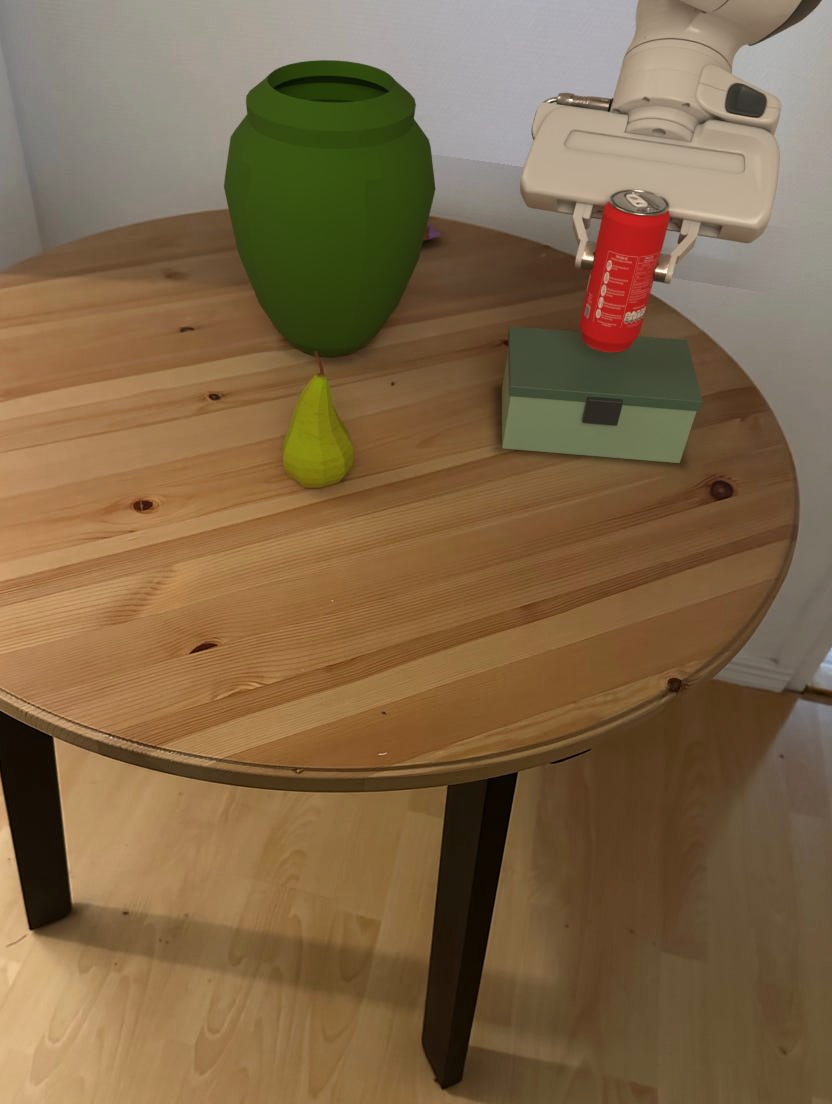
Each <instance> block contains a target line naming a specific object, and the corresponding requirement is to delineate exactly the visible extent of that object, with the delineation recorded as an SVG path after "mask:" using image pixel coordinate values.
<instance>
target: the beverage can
mask: <svg viewBox="0 0 832 1104" xmlns="http://www.w3.org/2000/svg"><path fill="white" fill-rule="evenodd" d="M669 207H670V204H669V202H668V201H667V200H666V199H665V198H664V197H662V196H660V195H658V194H655V193H652V192H648V191H643V190H622V191H618V192H615V193H613V194H612V195H611V196H610V197H609V202H608V203H607V204H606V205H605V207H604V210H603V215H602V220H601V219H600V225H599V230H598V234H597V239H596V242H595V243H596V249H595V254H594V261H593V266H592V269H591V270H589V276H588V280H587V286H586V290H585V295H584V300H583V303H582V304H583V305H582V308H581V314H580V318H579V331H580V332H581V333H582V341H583V342H584V343H585V344H586V345H587V346H588V347H590V348H592V349H594V350H597V351H600V352H606V353H619V352H623V351H626V350H628V349H629V348H630V347H631V345H632V343H633V342H634V341H635V340H636V338H637V337H638V336H640V333H641V330H642V326H643V325H642V324H643V322H644V319H645V316H646V310H647V307H648V303H649V299H650V296H651V292H652V288H653V285H654V281H653V279H654V278H653V276H654V272H655V268H656V266H657V265H658V260H659V257H660V254H662V250H663V247H664V244H665V243H664V242H665V238H666V234H667V231H668V230H667V227H668V224H669V220H670V214H669Z"/></svg>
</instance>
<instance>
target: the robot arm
mask: <svg viewBox="0 0 832 1104" xmlns="http://www.w3.org/2000/svg"><path fill="white" fill-rule="evenodd" d="M822 1H823V0H638V1H637V5H636V8H635V18H634V19H635V31H634V36H633V38H632V40H631V43H630V44H629V46H628V47H627V50H626V51H625V53H624V56H623V59H622V62H621V67H620V70H619V74H618V79H617V81H616V86H615V89H614V93H613V97H612V98H609V97H600V96H592V95H590V96H585V95H575V94H574V93H572V92H559V93H558V94H557V96H553V97H550V98H547V99H545V100H543V102H542V103H540V104H539V106H538V107H537V108H536V110H535V113H534V118H533V122H532V126H531V137H532V140H533V141H532V144H531V145H530V148H529V151H528V154H527V156H526V159H525V162H524V165H523V169H522V171H521V175H520V179H519V182H520V183H519V190H520V191H519V192H520V195H521V198H522V200H523V202H524V204H525V205H526V207H527V208H530V209H534V210H541V211H547V212H553V213H560V214H566V215H572V231H573V234H574V237H575V241H576V244H577V247H578V248H577V251H576V256H575V261H574V268H575V269H581V270H587V271H591V269H592V266H593V261H594V254H595V249H596V243H597V242H595V241H589V238H588V234H587V231H586V230H589V229H590V227H591V222H592V219H596V220H600V221H601V220H602V215H603V210H604V207H605V205H606V204H607V203H608V202H609V197H610V196H611V195H612V194H613V193H615V192H618V191H622V190H643V191H648V192H652V193H655V194H658V195H660V196H662V197H664V198H665V199H666V200H667V201H668V202H669V204H670V207H669V214H670V220H669V224H668V227H667V231H670V232H675V233H679V235H678V237H677V238H678V239H677V242H676V244H677V246H676V247H674V249H673V250H672V251H671V252H670V254H665V253H661V254H660V257H659V260H658V265H657V266H656V268H655V272H654V276H653V278H654V279H653V282H656V283H663V284H665V285H671V281H672V278H673V274H674V271H675V268H676V266H677V265H678V264H679V263H680V262H681V261H682V260H683V259H684V258H685V257H686V256H687V255H688V254H689V253H690V252H691V251H692V250H693V249H694V247H695V245H696V242H697V238H698V236H700V237H706V238H711V239H719V240H723V241H731V242H734V243H735V242H736V243H741V244H753V242H755V241H756V240H757V239H759V238H760V237H761V236H762V235H763V234H764V233H765V231H766V229H767V227H768V225H769V222H770V219H771V216H772V212H773V209H774V205H775V204H774V203H775V199H776V194H777V188H778V180H779V173H780V162H781V161H780V160H781V153H780V151H781V150H780V146H779V143H778V141H777V138H776V137H775V134H776V131H777V128H778V125H779V121H780V116H781V111H782V102H781V100H780V99H779V97H777V96H775V95H774V94H772V93H770V92H767V91H766V90H763V89H761V88H760V87H757V86H755V85H754V84H751V83H750V82H747V81H745V80H743V79H742V78H740V77H738V76H736V75H734V74H733V63H734V60H735V56H736V55H737V53H738V52H739V50H740V49H741V48H742V47H744V46H749V47H753V46H755V45H758V44H760V43H762V42H764V41H766V40H768V39H770V38H772V37H774V36H776V35H778V34H779V33H782V32H784V31H786V30H788V29H789V28H791V27H793V26H795V25H797V24H798V23H800V22H801V21H803V20H804V19H806V18H807V17H808V16H809V15H810V14H812V13H813V12H814V11H815V10H816V8H818V6H819V5H820V4H821V3H822Z"/></svg>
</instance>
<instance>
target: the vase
mask: <svg viewBox="0 0 832 1104" xmlns="http://www.w3.org/2000/svg"><path fill="white" fill-rule="evenodd" d="M245 105H246V106H245V107H246V115H244V117H243V118H242V120H241V121H240V122H239V124H238V125H237V127H236V128H235V129H234V131H233V132H232V134H231V135H230V138H229V146H228V153H227V154H228V155H227V160H226V165H225V166H226V167H225V174H224V180H223V181H224V182H223V189H224V194H225V199H226V203H227V207H228V213H229V217H230V222H231V227H232V231H233V236H234V240H235V246H236V250H237V253H238V255H239V257H240V261H241V263H242V266H243V268H244V270H245V274H246V275H247V277H248V278H247V279H248V280H249V282H250V285H251V287H252V290H253V293H254V294H255V296H256V299H257V302H258V304H259V306H260V307H261V308H262V310H263V312H264V313H265V315H266V316H267V318H268V319H269V321H270V322H271V324H272V325H273V327H274V328H275V329H276V330H277V332H278V333H279V334H280V335H281V336H282V337H283V338H284V339H285V340H286V341H287V342H288V343H289V344H290V345H291V346H293V348H295V349H297V350H298V351H301V352H303V353H306V354H308V355H313V356H315V354H314V352H315V351H317V354H318V356H319V357H341V356H345V355H349V354H353V353H355V352H358V351H359V350H361V349H363V348H364V347H365V346H366V345H367V344H369V343H370V341H372V340H373V339H374V338H375V337H376V336H377V335H378V334H379V333H380V331H381V330H382V329H383V327H384V326H385V324H386V323H387V322H388V320H389V319H390V318H391V316H392V315H393V314H394V312H395V310H396V309H397V308H398V306H399V305H400V302H401V300H402V297H403V296H404V294H405V292H406V289H407V287H408V284H409V282H410V279H411V277H412V276H413V273H414V271H415V269H416V267H417V264H418V262H419V260H420V256H421V252H422V248H423V243H424V241H425V240H424V235H425V231H426V227H427V223H429V218H430V214H431V209H432V206H433V201H434V198H435V193H436V182H435V174H434V164H433V156H432V147H431V143H430V139H429V138H428V136H427V135H426V134H425V132H424V131H423V129H422V128H421V126H420V125H419V124H418V122H417V121H416V118H415V113H416V107H417V103H416V98H415V97H414V96H413V95H412V93H410V92H409V91H408V90H407V89H406V88H405V87H404V86H402V84H400V83H399V81H397V80H396V79H395V78H394V77H393V76H392V75H391V74H389V73H388V72H386V71H385V70H383V69H381V68H378V67H375V66H372V65H369V64H364V63H360V62H353V61H347V60H335V59H334V60H333V59H332V60H331V59H329V60H328V59H327V60H326V59H321V60H320V59H319V60H317V59H316V60H307V61H305V60H304V61H298V62H294V63H289V64H286V65H283V66H280V67H277V68H276V69H274V70H273V71H271V72H270V73H269V74H268V75H267V76H266V77H264V79H262V80H261V81H260V82H259V83H257V84H255V86H254V87H252V88H251V89H250V90H249V91H248V93H247V95H246V97H245ZM423 240H424V241H423Z"/></svg>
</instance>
